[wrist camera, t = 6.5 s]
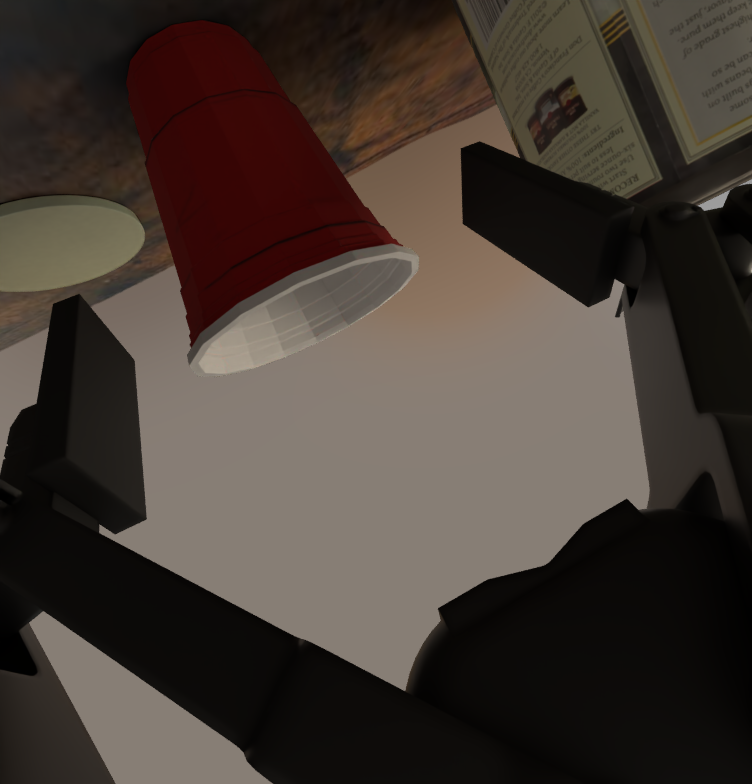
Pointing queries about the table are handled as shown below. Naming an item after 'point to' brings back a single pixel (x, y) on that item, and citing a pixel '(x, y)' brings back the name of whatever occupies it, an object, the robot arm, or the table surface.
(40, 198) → the coaster
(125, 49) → the table surface
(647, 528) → the robot arm
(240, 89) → the plastic cup
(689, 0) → the coffee can
